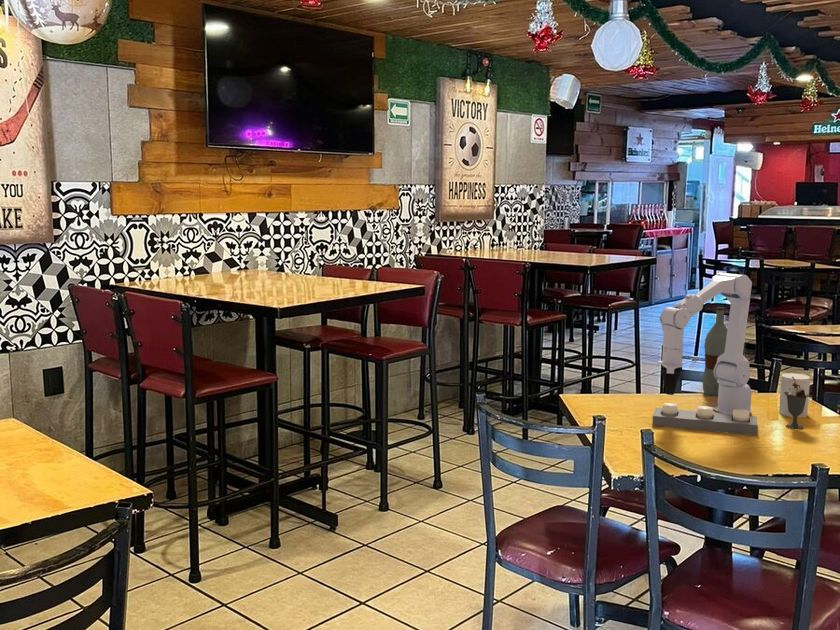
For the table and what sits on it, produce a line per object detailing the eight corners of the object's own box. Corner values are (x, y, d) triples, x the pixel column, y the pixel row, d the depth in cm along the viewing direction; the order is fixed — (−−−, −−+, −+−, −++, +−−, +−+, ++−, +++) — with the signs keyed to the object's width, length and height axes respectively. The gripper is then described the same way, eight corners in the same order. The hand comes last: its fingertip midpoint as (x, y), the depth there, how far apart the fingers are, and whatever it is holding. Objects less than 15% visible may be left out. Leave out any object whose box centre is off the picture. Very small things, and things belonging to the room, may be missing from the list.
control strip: (655, 417, 257) (655, 407, 257) (756, 426, 247) (756, 416, 247) (652, 425, 248) (652, 415, 247) (757, 435, 238) (757, 425, 237)
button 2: (732, 418, 246) (733, 408, 246) (748, 419, 245) (749, 409, 244) (732, 422, 242) (733, 412, 242) (748, 423, 241) (749, 413, 240)
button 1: (662, 412, 253) (663, 402, 253) (677, 413, 252) (678, 403, 251) (661, 415, 249) (661, 406, 249) (676, 417, 248) (677, 407, 247)
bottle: (735, 396, 283) (740, 308, 278) (710, 397, 281) (715, 309, 277) (721, 389, 292) (725, 305, 288) (696, 390, 291) (701, 305, 286)
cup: (794, 409, 266) (796, 372, 264) (813, 415, 258) (816, 378, 257) (773, 411, 264) (775, 374, 262) (792, 418, 256) (794, 380, 254)
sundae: (784, 422, 251) (788, 374, 248) (808, 426, 247) (812, 377, 245) (779, 428, 245) (783, 378, 243) (804, 431, 241) (807, 381, 239)
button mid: (697, 415, 250) (697, 405, 249) (712, 416, 248) (713, 406, 248) (696, 418, 246) (697, 409, 245) (712, 420, 244) (712, 410, 244)
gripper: (660, 342, 255) (658, 385, 257) (656, 351, 242) (654, 396, 244) (684, 344, 253) (682, 387, 255) (682, 353, 240) (679, 398, 242)
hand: (670, 392), depth 249 cm, fingers open, 5 cm apart
